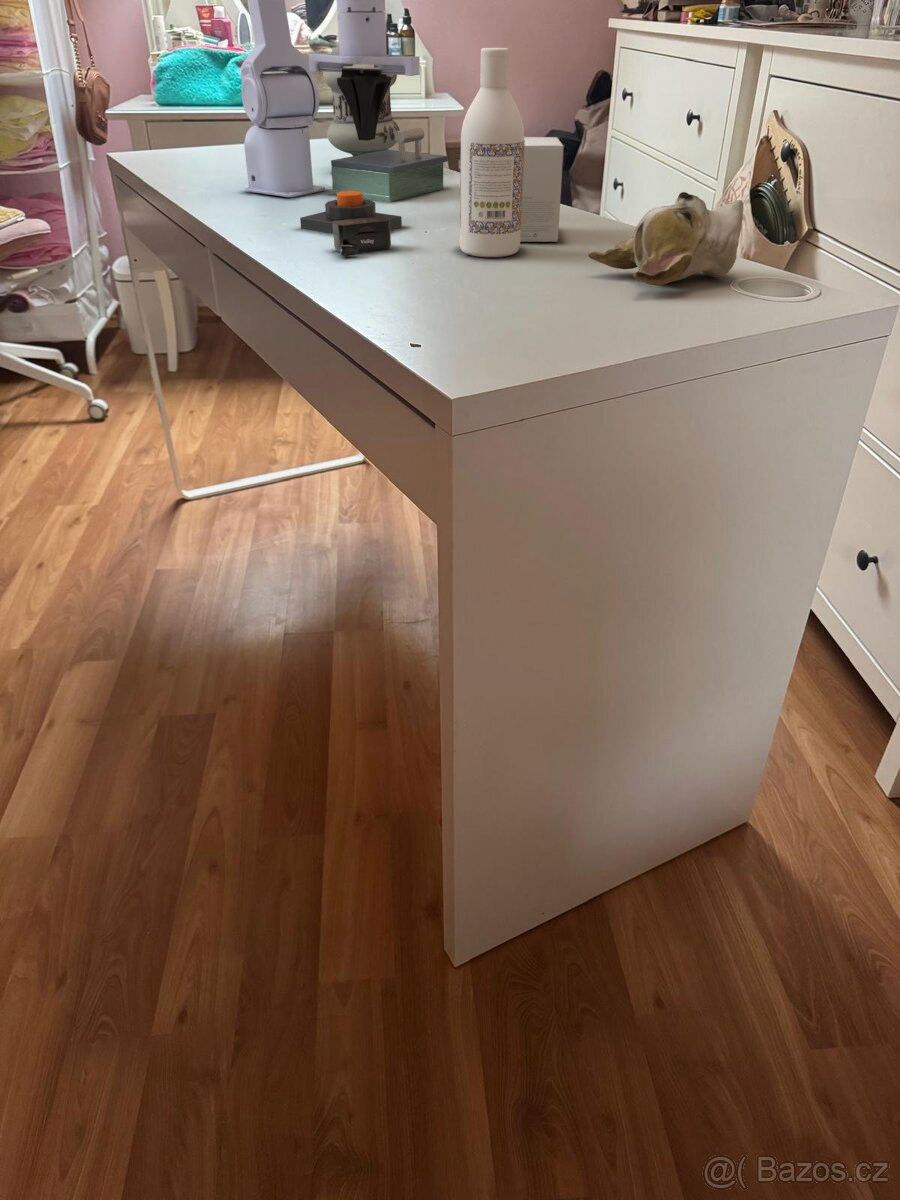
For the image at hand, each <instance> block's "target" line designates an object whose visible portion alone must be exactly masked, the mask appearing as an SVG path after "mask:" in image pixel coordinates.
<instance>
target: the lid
mask: <svg viewBox="0 0 900 1200" xmlns="http://www.w3.org/2000/svg"><path fill="white" fill-rule="evenodd" d="M424 137H425V132H424V129H423V128H421V127H416V128H410V129H409V128H408V129H403V130H400V131H398V132H397V133H396V134H395V139H396V141H397V143H396V144H398V150H397V149H396V150H395V149H388V150H383V151H378V152H373V153H368V154H362V155H357V156H353V155H351V156H346V157H342V158H335V159H332V160H330V167H341V168H350V169H359V170H367V171H376V172H384V173H398V172H402V171H407V170H411V169H416V168H421V167H425V166H430V165H434V164H439V163H443V164H444V163H447V162H448V161H449V160H448V159H449V158H448V155H445V154H444V155H443V154H434V153H424V152H422V140H423V139H424ZM412 142H414V151H406V143H412Z"/></svg>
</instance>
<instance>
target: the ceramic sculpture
mask: <svg viewBox="0 0 900 1200" xmlns="http://www.w3.org/2000/svg"><path fill="white" fill-rule="evenodd" d="M743 219H744V202H743V200H742V199H738V200H735V201H733V202H731V203H725V204H723V205H720V206H716V207H714V208H712V209H711V210H709V209H708V208H707V204H706V202H705V201H704V200H703V199H701V198H700V197H698V196H697V195H694V194H690V193H688V192H686V191H682V192H680V193H679V194H678V196H677V198H676V199H675V202H674V204H673V205H672V204H671V205H665V206H663V205H662V206H660V207H659V206H658V207H653V208H652V209H650V210H648V211H647V212H646V213H645V214H644V215H643V216H642V217H641V219H640V220H639V222H638V223H637V225H636V226H635V229H634V233H633V236H632V237H629V239H627V240H623V241H620V242H619V243H617V244H616V245H614V247H613V248H609V249H607V250H606V251H605V252H598V251H592V252H589V253H588V255H587V256H588V258H590V259H591V260H593V261H594V262H595V261H596V262H597V263H600V264H602V265H606V266H608V267H609V268H610V267H611V268H614V269H618V270H619V269H620V270H632V269H636V268H638V271H636V272H634V273H633V275H632V276H633V278H634V279H635V280H637V281H640V282H643V283H646V284H648V285H652V286H665V285H667V284H669V283H673V282H677V281H681V280H684V279H686V278H689V277H690V276H693V275H696V274H699V273H703V274H705V275H706V276H707V277H717V278H721V277H725V276H726V275H728V273H729V272H730V271H731V270H732V268H733V267H734V265H735V263H736V261H737V257H738V255H737V254H738V247H739V245H740V244H739V242H740V241H739V240H740V236H741V231H742V225H743Z"/></svg>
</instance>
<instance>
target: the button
mask: <svg viewBox="0 0 900 1200" xmlns="http://www.w3.org/2000/svg"><path fill="white" fill-rule="evenodd" d="M363 199H364V198H363V193H362V192H359V191H341V192H338V193H337V195H336V200H337V205H339V206H360V205H363Z"/></svg>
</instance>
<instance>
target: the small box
mask: <svg viewBox="0 0 900 1200" xmlns="http://www.w3.org/2000/svg"><path fill="white" fill-rule="evenodd" d="M524 137H525V139H524V140H525V146H524V169H523V191H522V214H521V233H520V243H526V242H527V243H529V242H530V243H532V242H533V243H535V242H536V243H537V242H539V243H541V242H542V243H547V242H552V243H553V242H559V232H560V231H559V228H560V213H561V212H560V211H561V198H562V196H561V195H562V179H563V162H564V145H563V143H562V142H561V141H560V139H559V137H557V136H542V137H541V136H524Z"/></svg>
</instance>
